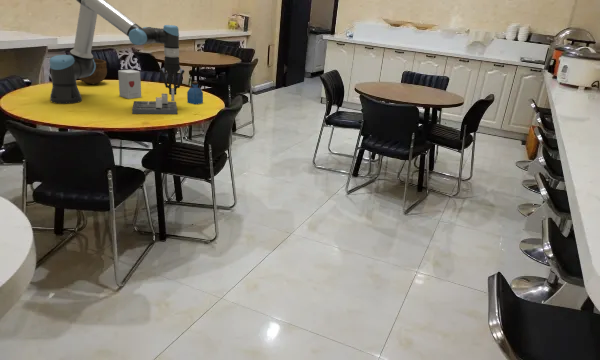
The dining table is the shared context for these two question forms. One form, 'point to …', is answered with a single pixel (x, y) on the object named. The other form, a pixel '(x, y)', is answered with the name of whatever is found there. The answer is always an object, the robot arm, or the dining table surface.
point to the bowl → (96, 73)
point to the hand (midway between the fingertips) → (172, 100)
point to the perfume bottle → (195, 94)
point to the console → (153, 108)
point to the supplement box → (129, 83)
